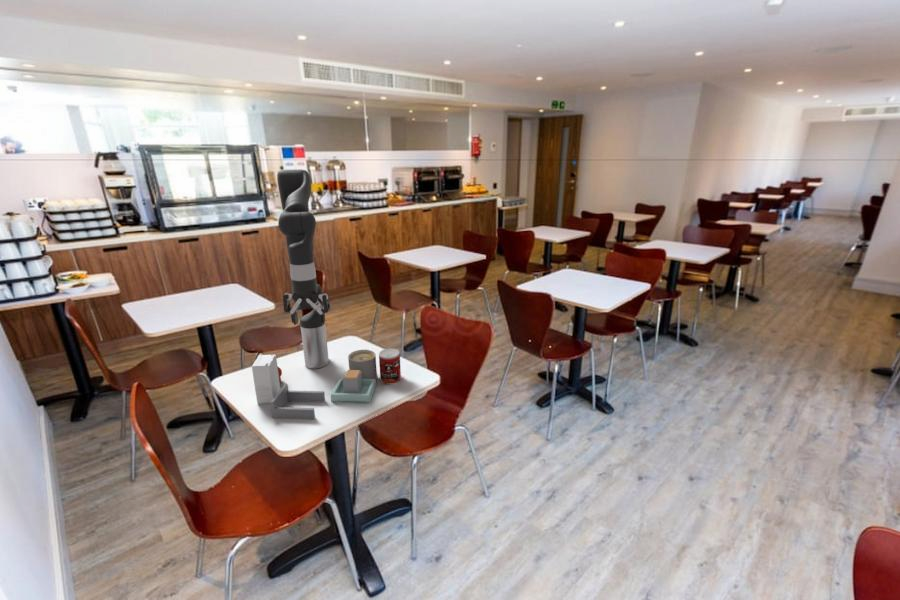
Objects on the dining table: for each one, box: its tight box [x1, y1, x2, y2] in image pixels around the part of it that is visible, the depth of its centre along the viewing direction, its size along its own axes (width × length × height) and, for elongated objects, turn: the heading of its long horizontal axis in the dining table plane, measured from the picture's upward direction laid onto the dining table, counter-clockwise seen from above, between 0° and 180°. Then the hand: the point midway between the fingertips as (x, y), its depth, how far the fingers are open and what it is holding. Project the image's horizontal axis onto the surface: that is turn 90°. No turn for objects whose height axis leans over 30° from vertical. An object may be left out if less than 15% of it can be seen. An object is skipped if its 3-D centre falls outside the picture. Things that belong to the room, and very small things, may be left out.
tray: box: [330, 377, 377, 404], centre depth 148 cm, size 11×13×3 cm
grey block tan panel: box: [342, 369, 363, 394], centre depth 147 cm, size 6×5×8 cm
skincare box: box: [251, 354, 281, 405], centre depth 144 cm, size 8×6×15 cm
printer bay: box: [269, 383, 326, 420], centre depth 139 cm, size 11×14×6 cm
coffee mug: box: [347, 349, 378, 381], centre depth 158 cm, size 13×10×10 cm
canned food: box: [378, 348, 402, 385], centre depth 157 cm, size 8×8×11 cm
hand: (308, 323), depth 137 cm, fingers open, 8 cm apart
